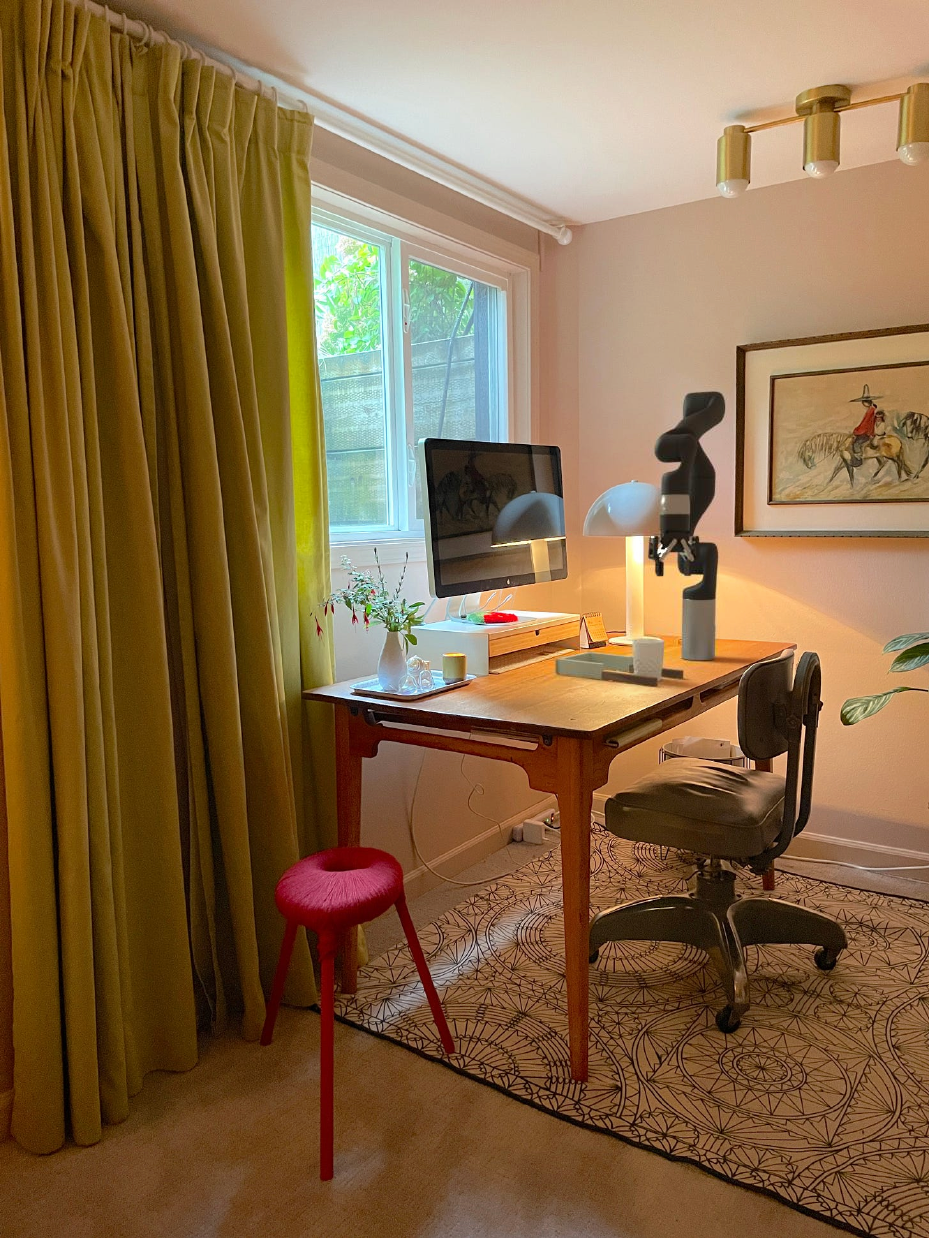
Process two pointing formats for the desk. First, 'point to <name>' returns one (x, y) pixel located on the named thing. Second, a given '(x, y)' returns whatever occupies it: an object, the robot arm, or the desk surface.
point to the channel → (638, 678)
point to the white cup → (648, 657)
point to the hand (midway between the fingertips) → (673, 576)
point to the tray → (592, 664)
